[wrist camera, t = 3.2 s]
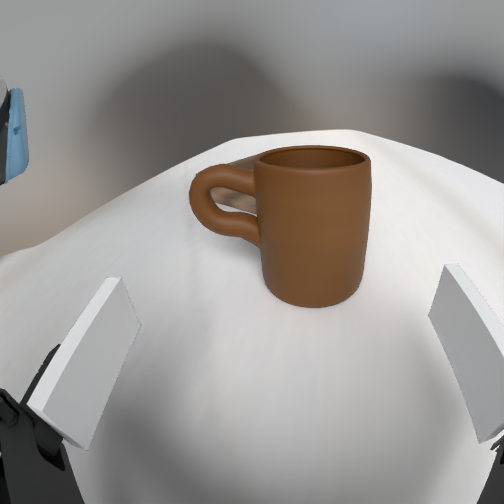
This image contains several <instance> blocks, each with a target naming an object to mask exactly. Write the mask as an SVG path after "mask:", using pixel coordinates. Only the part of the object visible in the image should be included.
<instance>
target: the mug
mask: <svg viewBox="0 0 504 504" xmlns="http://www.w3.org/2000/svg"><path fill="white" fill-rule="evenodd" d="M216 187H222V188H226V189H229V190H233V191H236V192H239V193H243V194H246V195H249V196H252V197H254V198H255V199H256V211H257V217H256V216H254V215H251V214H248V213H244V212H226V211H223V210H221V209H220V208H219V207H218V206H217V205H216V204H215V202H214V200H213V198H212V195H211V190H212V189H213V188H216ZM371 194H372V181H371V160H370V158H369V157H368V156H367V155H366V154H364V153H362V152H359V151H356V150H352V149H348V148H342V147H335V146H320V145H305V146H291V147H283V148H277V149H273V150H269V151H266V152H263V153H261V154H259V155H257V156H256V157H255V160H254V171H250V170H246V169H243V168H240V167H236V166H233V165H229V164H219V165H215V166H210V167H208V168H206V169H204V170H202V171H200V172H199V173H198V174H197V175H196V177H195V178H194V179H193V181H192V183H191V187H190V191H189V200H190V205H191V208H192V211H193V213H194V214H195V216H196V218H197V219H198V220H199V221H200V222H201V223H202V225H203V226H205V227H206V228H208V229H209V230H211V231H213V232H215V233H217V234H221V235H225V236H234V237H241V238H243V239H245V240H247V241H249V242H251V243H253V244H255V245H256V246H258V247H259V248H260V251H261V261H262V271H263V277H264V280H265V283H266V285H267V287H268V289H269V290H270V291H271V292H272V293H273V294H274V295H275V296H276V297H278V298H279V299H281V300H282V301H284V302H287V303H289V304H292V305H296V306H300V307H308V308H320V307H327V306H332V305H335V304H338V303H340V302H342V301H344V300H346V299H348V298H349V297H350V296H351V295H352V294H353V293H354V292H355V291H356V290H357V288H358V287H359V285H360V282H361V279H362V275H363V270H364V263H365V255H366V248H367V240H368V231H369V220H370V208H371Z"/></svg>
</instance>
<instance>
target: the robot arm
mask: <svg viewBox="0 0 504 504" xmlns="http://www.w3.org/2000/svg"><path fill="white" fill-rule="evenodd" d="M28 162H29V149H28V137H27V126H26V115H25V105H24V97H23V92H22V90H21V89H20V88H16V89H15V88H13V89H11V90H10V91H9V92H8V90H7V86H6V83H5V81H4V79H3V78H1V77H0V185H2V184H4V183H7V182H8V181H9V180H10V179H12V178H14V177H16V176H18V175H19V174H21V173H23V172H24V171H25V169H26V168H27V166H28ZM428 317H429V319H430V321H431V323H432V325H433V327H434V329H435V331H436V333H437V335H438V337H439V339H440V341H441V344H442V346H443V348H444V350H445V352H446V355H447V357H448V359H449V361H450V364H451V366H452V368H453V371H454V373H455V376H456V378H457V381H458V383H459V386H460V388H461V391H462V394H463V396H464V399H465V402H466V404H467V407H468V410H469V413H470V416H471V419H472V422H473V425H474V428H475V431H476V435H477V438H478V441H479V444H480V443H483V442H485V441H487V440H489V439H492V438H494V437H495V436H497V435H498V434H499V433H500V432H501V431H502V430H503V429H504V326H503V325H502V323H501V322H500V320H499V319H498V317H497V316H496V314H495V312H494V311H493V310H492V308H491V307H490V305H489V304H488V302H487V301H486V299H485V298H484V296H483V295H482V294H481V292H480V291H479V290H478V288H477V287H476V285H475V284H474V283H473V281H472V280H471V279H470V277H469V276H468V275H467V274H466V272H465V271H464V270H463V268H462V267H461V266H460V265H459V263H457V264H444V268H443V271H442V275H441V278H440V281H439V285H438V288H437V291H436V294H435V297H434V300H433V303H432V306H431V309H430V312H429V314H428ZM140 327H141V324H140V321H139V319H138V317H137V314H136V312H135V310H134V307H133V305H132V303H131V300H130V298H129V295H128V293H127V290H126V288H125V285H124V283H123V280H122V277H107V278H106V280H105V281H104V282H103V284H102V285H101V286H100V288H99V289H98V290H97V292H96V293H95V295H94V296H93V298H92V299H91V300H90V302H89V303H88V305H87V306H86V308H85V309H84V310H83V312H82V313H81V315H80V316H79V318H78V319H77V321H76V322H75V324H74V325H73V327H72V328H71V330H70V331H69V333H68V334H67V336H66V338H65V339H64V341H63V342H62V344H58V345H57V346H56V347H55V348H54V349H53V350H52V351H51V352H49V354H48V356H47V357H46V359H45V360H44V362H43V365H41V367H40V369H39V370H38V373H37V374H36V376H35V377H34V379H33V381H32V382H31V384H30V386H29V388H28V390H27V391H26V393H25V395H24V397H23V399H22V400H21V402H20V404H18V403H17V402H16V401H15V400H14V399H13V398H12V397H11V396H10V394H9V393H8V392H7V391H6V390H4V389H0V452H1V456H0V504H85V503H84V501H83V499H82V496H81V494H80V491H79V488H78V486H77V483H76V480H75V477H74V474H73V471H72V468H71V465H70V462H69V459H68V455H67V452H66V449H65V447H64V445H63V443H61V442H62V440H63V438H64V439H65V440H67V441H68V442H69V443H70V444H71V445H73V446H76V447H78V448H81V449H84V450H86V451H88V450H89V447H90V444H91V442H92V439H93V436H94V434H95V431H96V428H97V426H98V423H99V421H100V418H101V416H102V413H103V411H104V408H105V406H106V404H107V401H108V399H109V396H110V394H111V392H112V389H113V387H114V385H115V382H116V380H117V378H118V375H119V373H120V371H121V369H122V366H123V364H124V362H125V360H126V357H127V355H128V353H129V351H130V349H131V347H132V344H133V342H134V340H135V338H136V336H137V334H138V332H139V330H140ZM498 445H500V446H499V448H497V450H496V451H495V452H497V455H496V458H495V461H494V463H493V466H492V469H491V471H490V474H489V477H488V479H487V481H486V484H485V486H484V489H483V491H482V493H481V495H480V497H479V500H478V502H477V504H504V435H503V436H502V437H501V438H500V439H499V440H498V441H496V442H495V443H494V444H493V445H492V447H491V449H490V450H493V449H495V448H496V447H497V446H498Z"/></svg>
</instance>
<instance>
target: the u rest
mask: <svg viewBox="0 0 504 504" xmlns="http://www.w3.org/2000/svg"><path fill="white" fill-rule="evenodd" d="M257 155H259V154H257ZM257 155H254V156H251V157H247V158H244V159H241V160H237V161H234V162H231V163H228V164H229V165H233V166H236V167H240V168H243V169H246V170H250V171H254V160H255V157H256V156H257ZM196 175H197V174H196ZM211 195H212V198H213V200H214V202H217V203H220V204H224V205H227V206H231V207H234V208H238V209H241V210H245V211H248V212H252V213H255V214H257V211H256V199H255V198H254V197H252V196H249V195H246V194H243V193H239V192H236V191H233V190H229V189H226V188H222V187H216V188H213V189H212V190H211Z"/></svg>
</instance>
